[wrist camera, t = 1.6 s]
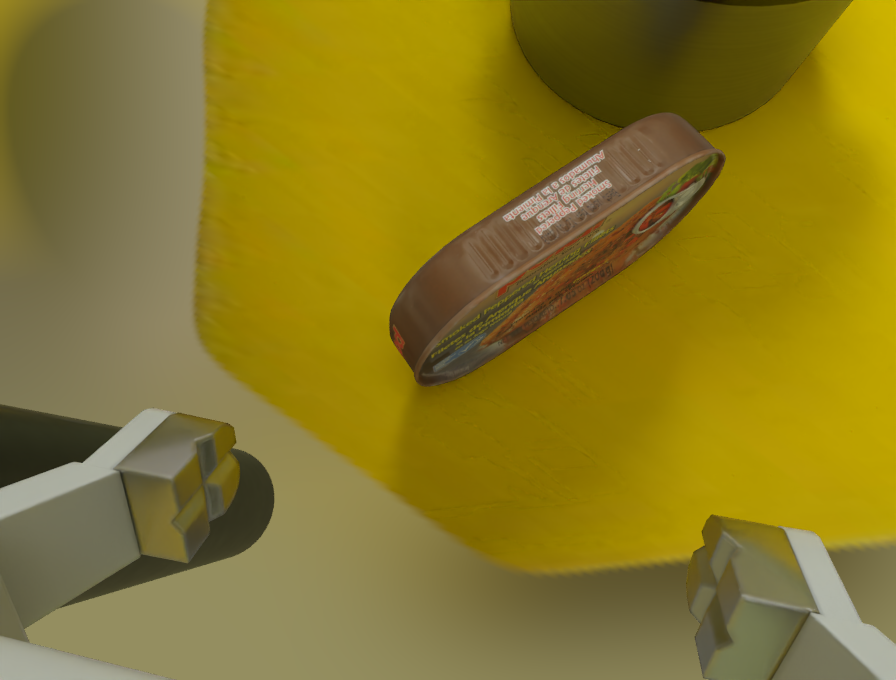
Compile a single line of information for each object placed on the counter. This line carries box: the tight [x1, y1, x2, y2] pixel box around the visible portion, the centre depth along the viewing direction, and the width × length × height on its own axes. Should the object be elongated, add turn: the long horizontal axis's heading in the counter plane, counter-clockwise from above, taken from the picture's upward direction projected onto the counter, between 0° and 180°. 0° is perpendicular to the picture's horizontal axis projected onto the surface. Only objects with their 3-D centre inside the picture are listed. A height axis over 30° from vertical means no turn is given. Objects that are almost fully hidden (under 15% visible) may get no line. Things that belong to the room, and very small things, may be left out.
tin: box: [389, 113, 726, 386], centre depth 24 cm, size 15×3×8 cm, turn 124°
